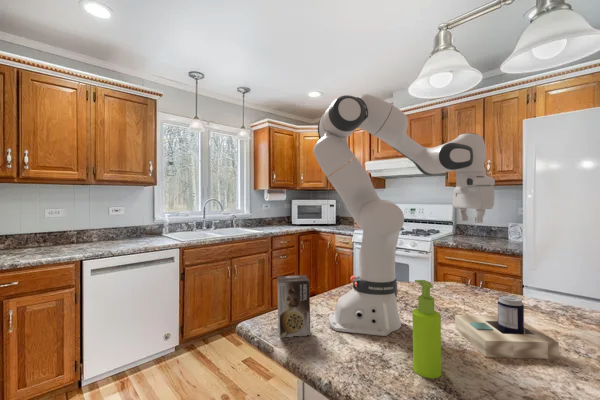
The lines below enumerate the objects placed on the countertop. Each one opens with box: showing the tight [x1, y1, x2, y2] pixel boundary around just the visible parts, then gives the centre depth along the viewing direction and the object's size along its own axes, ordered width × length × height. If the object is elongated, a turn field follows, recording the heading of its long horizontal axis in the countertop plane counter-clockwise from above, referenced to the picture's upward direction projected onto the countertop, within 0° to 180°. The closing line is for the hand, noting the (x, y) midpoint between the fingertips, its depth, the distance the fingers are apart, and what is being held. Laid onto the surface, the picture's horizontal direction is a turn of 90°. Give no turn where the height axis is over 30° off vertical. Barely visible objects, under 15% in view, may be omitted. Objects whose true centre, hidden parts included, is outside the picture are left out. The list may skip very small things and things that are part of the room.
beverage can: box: [497, 294, 525, 334], centre depth 78 cm, size 6×6×12 cm
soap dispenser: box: [412, 279, 442, 379], centre depth 66 cm, size 6×7×20 cm
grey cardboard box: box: [276, 274, 312, 338], centre depth 85 cm, size 9×6×16 cm
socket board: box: [454, 314, 560, 360], centre depth 78 cm, size 17×16×4 cm
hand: (471, 221), depth 99 cm, fingers open, 8 cm apart
